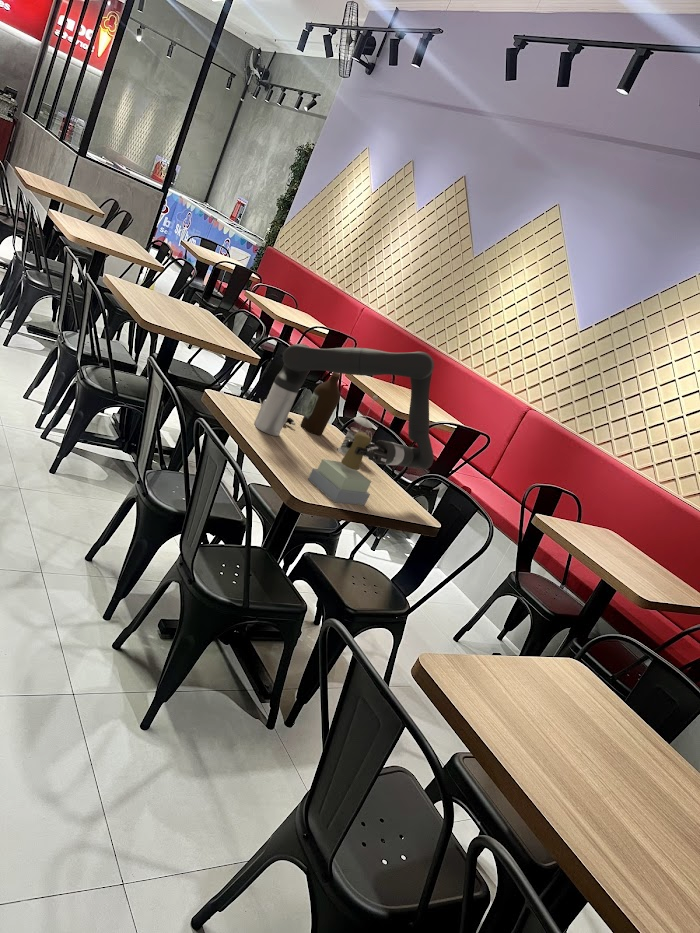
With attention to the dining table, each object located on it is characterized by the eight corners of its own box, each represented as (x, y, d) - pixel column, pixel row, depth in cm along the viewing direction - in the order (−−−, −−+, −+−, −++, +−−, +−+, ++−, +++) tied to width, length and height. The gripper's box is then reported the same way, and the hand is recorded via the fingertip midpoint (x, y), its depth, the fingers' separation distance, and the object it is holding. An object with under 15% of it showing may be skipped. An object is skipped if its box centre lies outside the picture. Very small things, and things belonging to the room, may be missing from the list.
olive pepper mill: (350, 461, 222) (364, 430, 219) (362, 470, 218) (377, 439, 215) (337, 459, 217) (352, 428, 214) (350, 469, 214) (364, 437, 211)
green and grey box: (307, 479, 220) (318, 457, 218) (338, 483, 230) (348, 462, 228) (334, 502, 211) (345, 479, 209) (364, 505, 221) (375, 483, 219)
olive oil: (320, 429, 284) (345, 374, 278) (325, 438, 275) (352, 381, 268) (296, 420, 280) (322, 364, 274) (301, 429, 271) (327, 371, 264)
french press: (349, 449, 276) (376, 392, 269) (367, 463, 269) (395, 405, 262) (332, 446, 269) (359, 388, 262) (350, 460, 262) (379, 401, 255)
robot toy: (294, 432, 268) (281, 414, 279) (299, 421, 266) (286, 404, 278) (266, 424, 261) (254, 406, 272) (271, 413, 259) (259, 396, 271)
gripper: (378, 433, 230) (342, 426, 218) (406, 453, 221) (371, 447, 209) (368, 452, 232) (333, 447, 220) (396, 473, 223) (361, 468, 211)
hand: (351, 447), depth 214 cm, fingers closed on olive pepper mill, 4 cm apart
